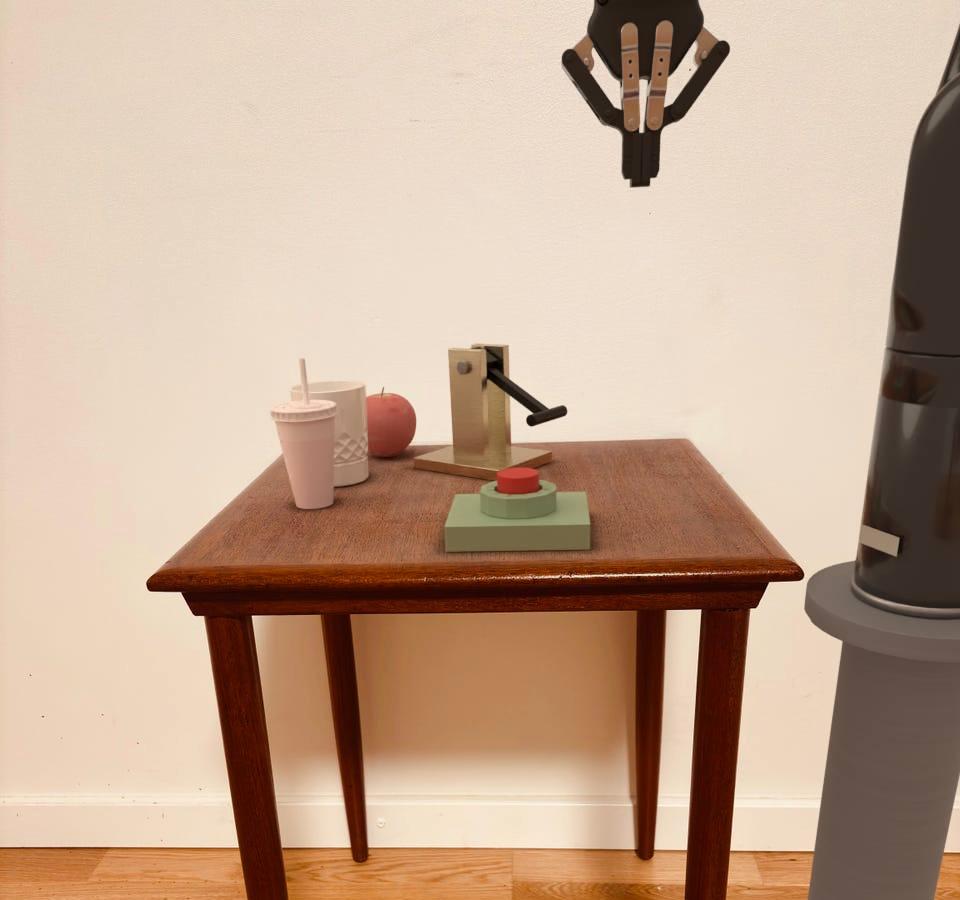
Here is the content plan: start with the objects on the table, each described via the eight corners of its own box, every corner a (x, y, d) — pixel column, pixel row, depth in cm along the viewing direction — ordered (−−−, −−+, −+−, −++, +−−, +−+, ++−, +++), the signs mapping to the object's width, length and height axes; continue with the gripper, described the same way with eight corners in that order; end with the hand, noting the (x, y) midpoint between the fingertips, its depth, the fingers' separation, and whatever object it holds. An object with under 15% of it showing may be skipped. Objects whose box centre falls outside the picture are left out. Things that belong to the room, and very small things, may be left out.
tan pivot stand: (551, 461, 104) (551, 343, 99) (498, 481, 97) (494, 355, 92) (469, 450, 111) (464, 339, 106) (413, 468, 104) (405, 350, 99)
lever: (562, 423, 99) (571, 404, 97) (530, 433, 95) (539, 414, 93) (483, 363, 103) (490, 344, 101) (448, 370, 98) (455, 350, 97)
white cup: (286, 486, 99) (274, 391, 95) (326, 468, 105) (316, 378, 101) (350, 491, 96) (340, 393, 92) (386, 473, 102) (379, 380, 98)
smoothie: (313, 516, 88) (295, 364, 82) (268, 507, 91) (248, 361, 86) (360, 500, 92) (346, 355, 87) (316, 491, 96) (299, 352, 90)
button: (539, 486, 81) (539, 466, 80) (539, 497, 78) (538, 477, 77) (498, 487, 81) (497, 467, 80) (496, 498, 78) (495, 478, 77)
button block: (585, 514, 85) (586, 471, 83) (590, 549, 76) (590, 502, 74) (456, 516, 86) (454, 474, 84) (445, 552, 77) (442, 505, 75)
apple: (377, 447, 114) (372, 381, 111) (429, 451, 111) (424, 383, 108) (343, 460, 109) (336, 391, 105) (396, 465, 105) (391, 394, 102)
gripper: (554, -94, 63) (556, 189, 70) (753, -108, 62) (733, 181, 69) (554, -63, 69) (555, 192, 77) (732, -76, 68) (717, 184, 76)
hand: (640, 186), depth 73 cm, fingers closed
